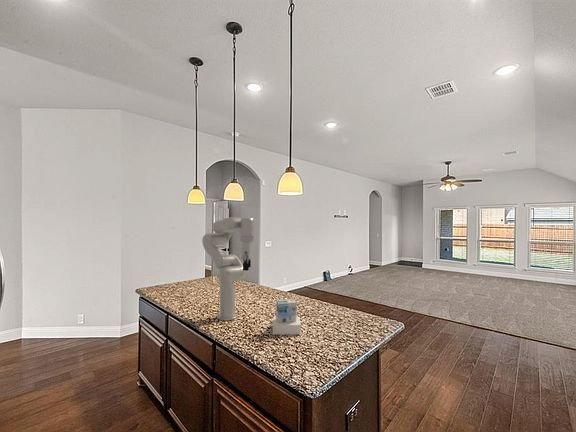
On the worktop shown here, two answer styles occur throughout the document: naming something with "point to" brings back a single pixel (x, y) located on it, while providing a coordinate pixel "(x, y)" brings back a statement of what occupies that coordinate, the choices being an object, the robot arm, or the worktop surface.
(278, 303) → the light bulb box
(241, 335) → the worktop surface
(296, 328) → the plinth
